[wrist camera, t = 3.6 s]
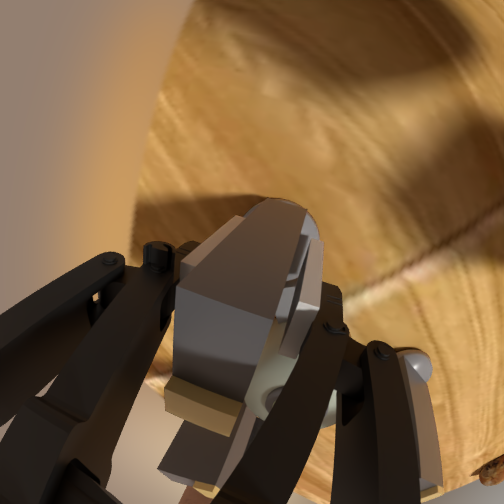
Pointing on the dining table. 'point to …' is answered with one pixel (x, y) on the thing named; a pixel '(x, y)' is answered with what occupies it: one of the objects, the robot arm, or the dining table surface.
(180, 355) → the dark grey upright block
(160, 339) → the robot arm
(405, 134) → the dining table surface
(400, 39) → the dining table surface
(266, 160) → the dining table surface
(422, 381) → the grey block tan end
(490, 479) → the bread roll
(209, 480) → the grey post tan tip
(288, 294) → the tribrach hub
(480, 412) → the dining table surface
